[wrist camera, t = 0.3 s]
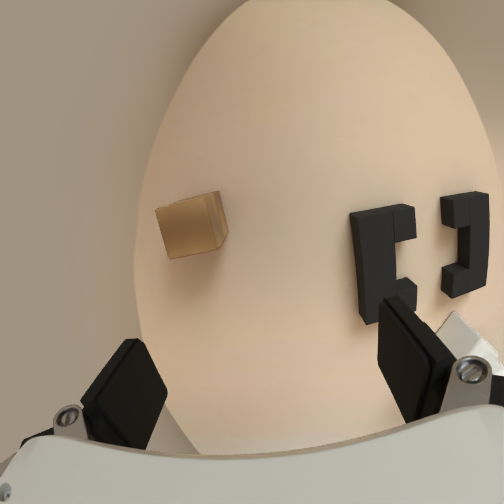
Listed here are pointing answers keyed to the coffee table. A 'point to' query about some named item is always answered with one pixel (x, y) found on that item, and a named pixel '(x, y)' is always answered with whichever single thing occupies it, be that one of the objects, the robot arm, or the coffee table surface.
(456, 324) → the medicine bottle
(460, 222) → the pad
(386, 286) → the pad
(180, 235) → the key
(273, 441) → the coffee table surface
